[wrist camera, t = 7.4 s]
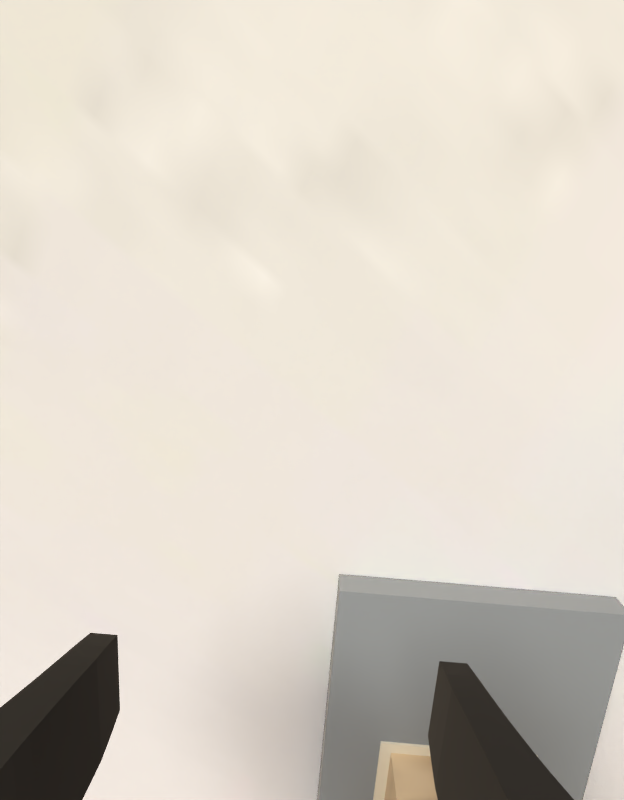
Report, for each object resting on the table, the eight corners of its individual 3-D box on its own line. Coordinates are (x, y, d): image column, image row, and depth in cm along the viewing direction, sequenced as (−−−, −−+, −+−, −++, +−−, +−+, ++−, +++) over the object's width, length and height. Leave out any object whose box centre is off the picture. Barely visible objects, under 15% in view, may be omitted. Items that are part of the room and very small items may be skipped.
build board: (615, 597, 22) (632, 617, 21) (546, 868, 26) (557, 899, 25) (339, 574, 22) (339, 592, 21) (312, 848, 26) (311, 876, 25)
